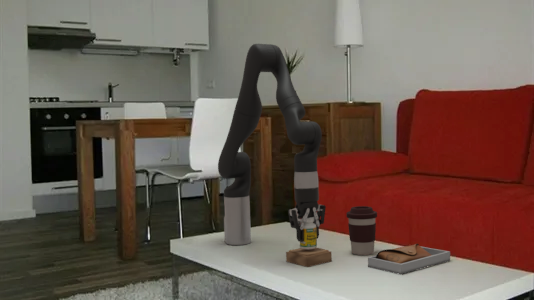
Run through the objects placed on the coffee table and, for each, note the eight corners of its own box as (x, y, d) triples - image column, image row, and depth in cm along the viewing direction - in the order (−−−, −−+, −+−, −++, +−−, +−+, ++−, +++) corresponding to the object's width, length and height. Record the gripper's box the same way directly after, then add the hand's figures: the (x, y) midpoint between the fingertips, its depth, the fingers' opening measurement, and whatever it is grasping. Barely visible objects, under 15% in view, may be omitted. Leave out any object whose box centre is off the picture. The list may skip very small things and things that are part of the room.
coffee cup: (341, 253, 196) (340, 208, 195) (358, 248, 203) (357, 204, 202) (367, 257, 189) (365, 210, 188) (384, 252, 196) (382, 206, 196)
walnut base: (286, 261, 188) (286, 250, 188) (310, 256, 194) (309, 245, 194) (307, 267, 180) (307, 255, 180) (331, 261, 186) (331, 250, 186)
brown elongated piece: (396, 267, 172) (387, 245, 174) (381, 275, 177) (372, 254, 179) (438, 257, 182) (429, 237, 184) (423, 265, 187) (414, 245, 189)
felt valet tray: (368, 266, 178) (367, 257, 178) (416, 254, 192) (416, 245, 191) (401, 274, 168) (401, 264, 168) (450, 260, 182) (450, 251, 181)
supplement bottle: (310, 245, 191) (309, 215, 190) (320, 247, 186) (319, 217, 186) (296, 247, 188) (295, 217, 187) (306, 250, 183) (305, 219, 183)
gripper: (315, 183, 193) (316, 235, 194) (280, 187, 185) (282, 241, 186) (331, 184, 187) (333, 238, 188) (296, 189, 179) (298, 245, 180)
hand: (308, 239), depth 187 cm, fingers closed on supplement bottle, 5 cm apart
